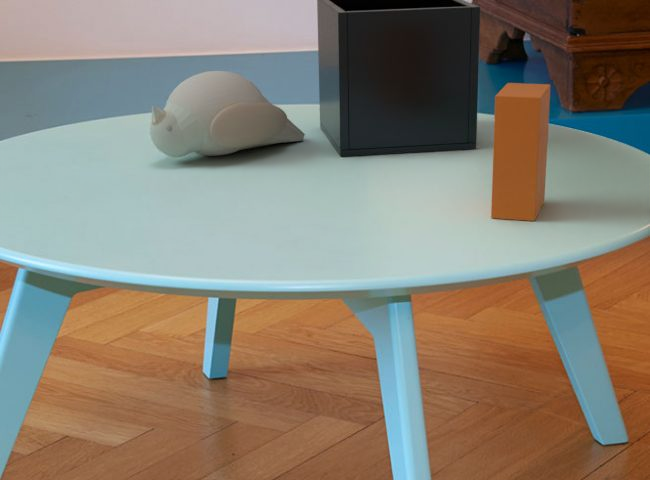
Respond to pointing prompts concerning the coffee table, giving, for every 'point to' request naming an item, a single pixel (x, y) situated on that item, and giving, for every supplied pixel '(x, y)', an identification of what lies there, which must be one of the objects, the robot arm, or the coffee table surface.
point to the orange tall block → (520, 151)
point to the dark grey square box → (398, 75)
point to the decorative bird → (218, 117)
